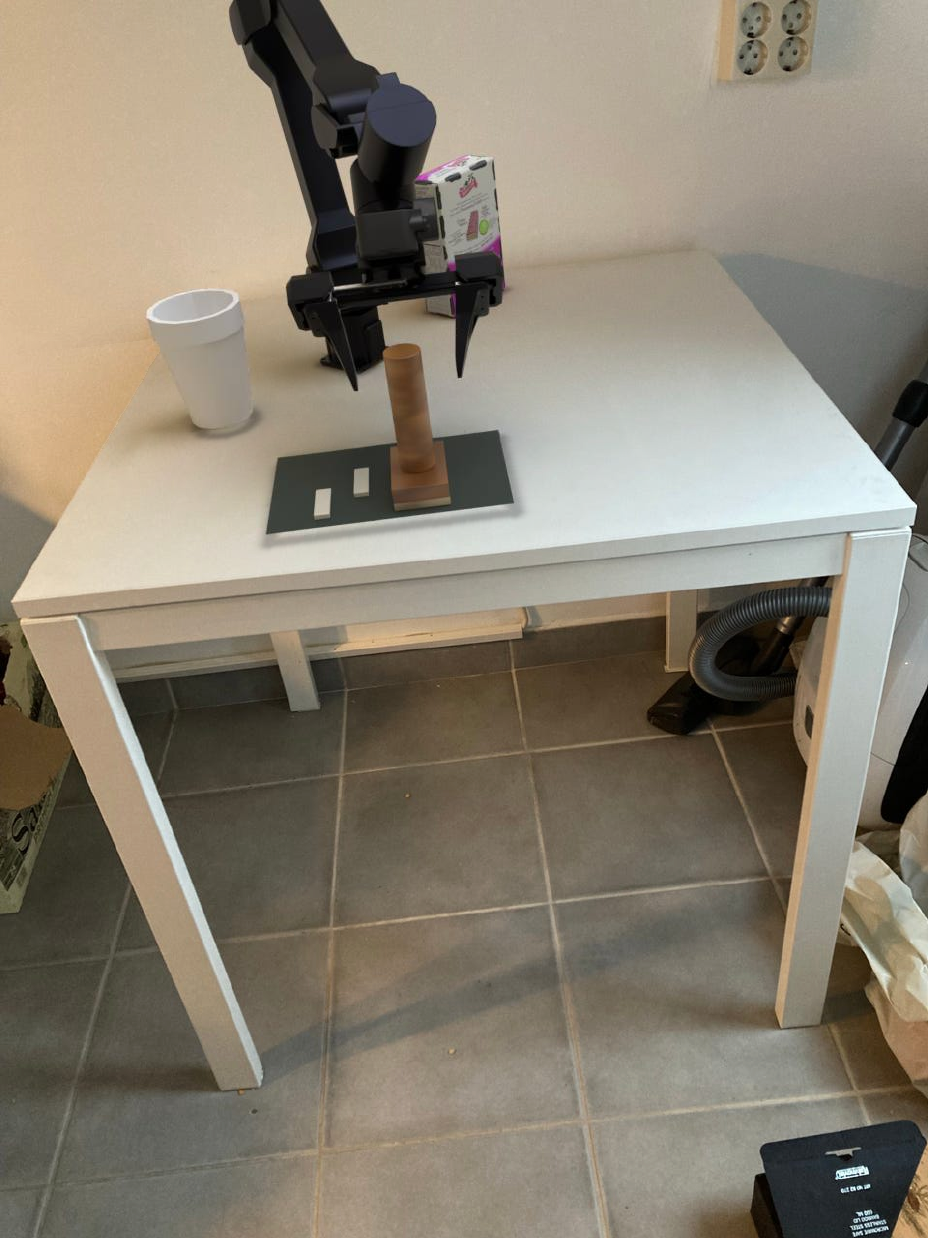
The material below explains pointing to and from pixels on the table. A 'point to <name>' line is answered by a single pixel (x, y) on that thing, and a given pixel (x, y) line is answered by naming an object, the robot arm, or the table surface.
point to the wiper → (413, 434)
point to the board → (383, 483)
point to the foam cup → (205, 354)
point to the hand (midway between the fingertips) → (407, 382)
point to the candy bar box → (460, 217)
